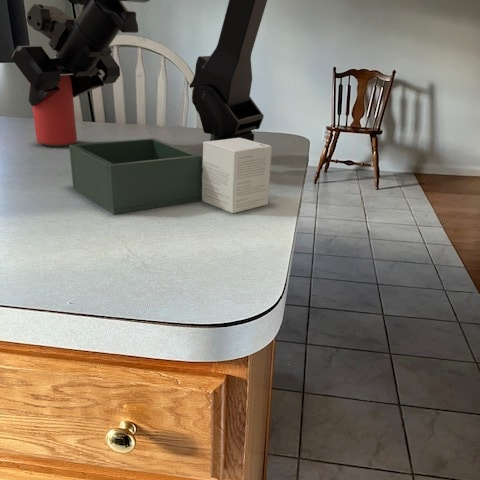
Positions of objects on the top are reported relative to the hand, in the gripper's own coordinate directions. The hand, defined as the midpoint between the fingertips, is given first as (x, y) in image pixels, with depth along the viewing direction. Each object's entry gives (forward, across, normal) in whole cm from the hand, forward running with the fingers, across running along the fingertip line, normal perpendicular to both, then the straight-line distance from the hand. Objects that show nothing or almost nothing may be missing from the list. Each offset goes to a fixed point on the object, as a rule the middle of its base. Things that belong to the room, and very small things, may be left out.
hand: (46, 101), depth 90 cm
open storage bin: (-17, +17, +26) cm, 35 cm away
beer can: (+4, 0, +6) cm, 7 cm away
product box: (-25, +12, +35) cm, 44 cm away
